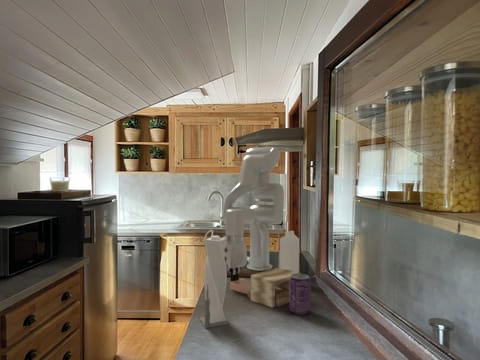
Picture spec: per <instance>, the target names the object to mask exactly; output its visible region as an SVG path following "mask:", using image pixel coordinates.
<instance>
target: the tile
mask: <svg viewBox="0 0 480 360" xmlns="http://www.w3.org/2000/svg"><path fill="white" fill-rule="evenodd" d="M229 290H232V291H235V292H239V293H242V294H245V295H248V292H251V280H249V279H245V278H239V280H236V281H233V282H229Z"/></svg>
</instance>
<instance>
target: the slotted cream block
mask: <svg viewBox="0 0 480 360" xmlns="http://www.w3.org/2000/svg"><path fill="white" fill-rule="evenodd" d="M292 274H301V272H300V271H299V272H295V271H291V270H286V269H282V268H280V267H273V268H272V269H270V270H265V271H261V272H260V271H259V272H258V273H253V274H250V281H251V292H248V294H247V299H250V301H251V302H253V303H258V304H259V305H262V306H266V307H269V308H274V307H276V308H278V307H279V308H280V307H281V306H284V305H286V304H289V284H290V279H291V275H292Z"/></svg>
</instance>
